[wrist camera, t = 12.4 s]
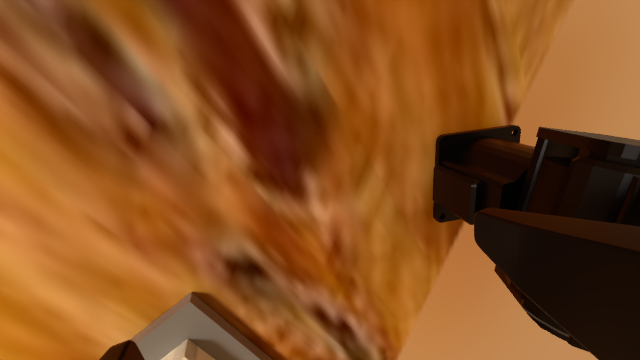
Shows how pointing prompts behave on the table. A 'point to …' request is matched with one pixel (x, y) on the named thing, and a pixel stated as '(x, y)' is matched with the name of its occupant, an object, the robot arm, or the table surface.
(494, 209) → the robot arm
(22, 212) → the table surface
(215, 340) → the socket plate
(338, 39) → the table surface
